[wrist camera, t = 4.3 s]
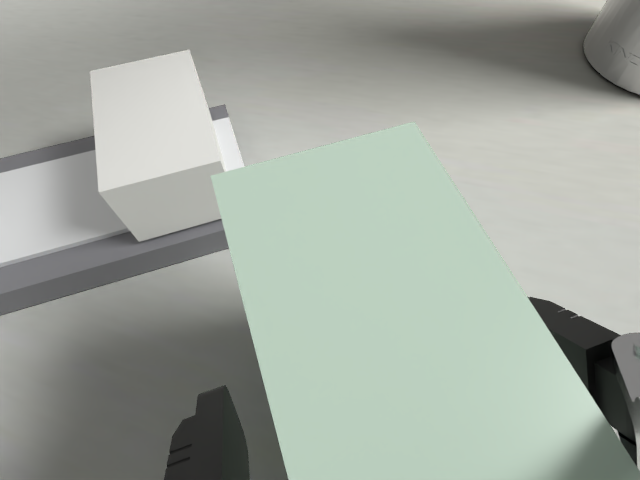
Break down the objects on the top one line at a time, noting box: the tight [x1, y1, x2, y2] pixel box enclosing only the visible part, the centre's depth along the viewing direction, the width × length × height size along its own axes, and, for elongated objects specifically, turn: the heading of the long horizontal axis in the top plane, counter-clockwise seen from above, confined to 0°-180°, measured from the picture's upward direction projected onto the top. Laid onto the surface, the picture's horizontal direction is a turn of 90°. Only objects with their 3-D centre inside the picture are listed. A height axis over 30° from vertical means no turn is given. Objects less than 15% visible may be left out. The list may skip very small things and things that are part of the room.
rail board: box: [0, 50, 245, 315], centre depth 20 cm, size 20×9×6 cm, turn 109°
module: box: [211, 122, 640, 480], centre depth 13 cm, size 5×8×12 cm, turn 19°
